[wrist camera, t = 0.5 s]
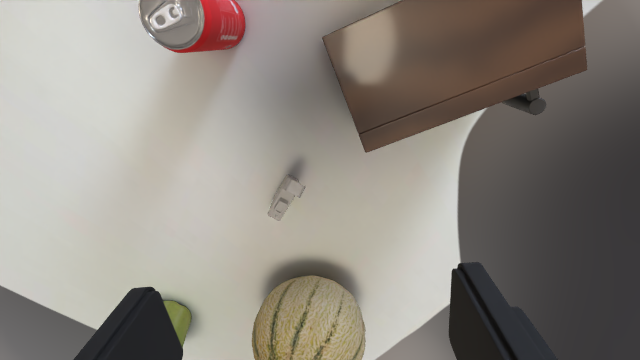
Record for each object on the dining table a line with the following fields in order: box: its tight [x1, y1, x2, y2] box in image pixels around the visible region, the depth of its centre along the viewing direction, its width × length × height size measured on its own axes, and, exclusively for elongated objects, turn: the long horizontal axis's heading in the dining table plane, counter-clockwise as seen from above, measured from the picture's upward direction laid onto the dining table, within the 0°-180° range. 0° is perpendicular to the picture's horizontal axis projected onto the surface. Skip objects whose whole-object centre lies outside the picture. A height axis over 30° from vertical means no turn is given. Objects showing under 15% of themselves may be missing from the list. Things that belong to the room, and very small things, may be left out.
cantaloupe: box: [252, 275, 366, 360], centre depth 41 cm, size 15×15×15 cm
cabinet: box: [322, 0, 587, 153], centre depth 29 cm, size 10×18×11 cm, turn 113°
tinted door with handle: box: [502, 89, 546, 115], centre depth 30 cm, size 4×8×9 cm, turn 113°
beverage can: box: [138, 0, 245, 53], centre depth 28 cm, size 5×5×12 cm
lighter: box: [268, 175, 305, 221], centre depth 37 cm, size 7×2×8 cm, turn 150°
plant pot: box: [163, 301, 191, 347], centre depth 47 cm, size 9×9×9 cm
